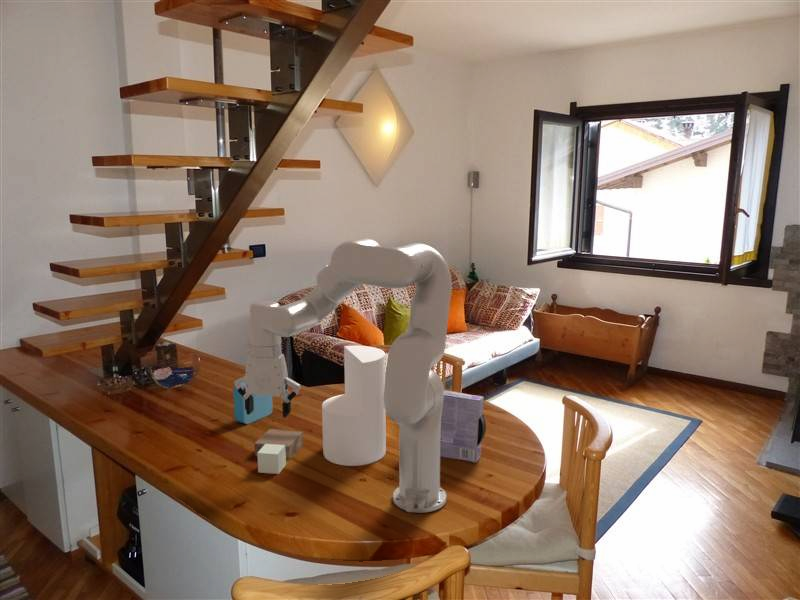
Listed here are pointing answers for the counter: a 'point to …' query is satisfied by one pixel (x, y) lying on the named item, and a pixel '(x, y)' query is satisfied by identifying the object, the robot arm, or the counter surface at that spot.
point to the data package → (261, 407)
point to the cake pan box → (462, 426)
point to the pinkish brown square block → (281, 440)
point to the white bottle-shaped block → (357, 410)
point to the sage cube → (271, 458)
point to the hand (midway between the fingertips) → (268, 414)
